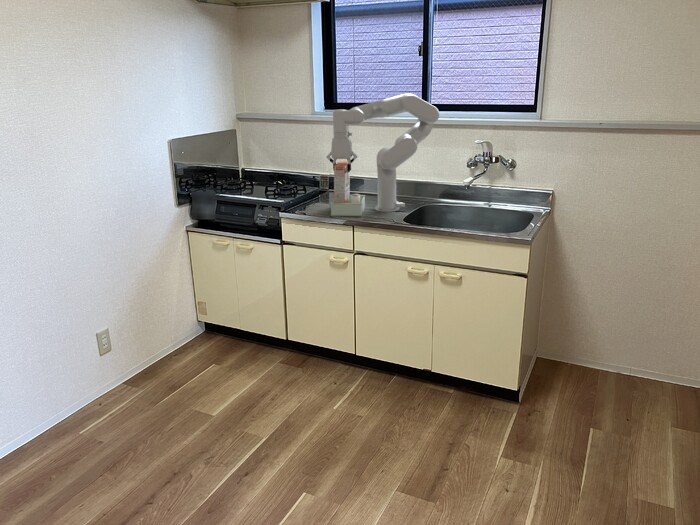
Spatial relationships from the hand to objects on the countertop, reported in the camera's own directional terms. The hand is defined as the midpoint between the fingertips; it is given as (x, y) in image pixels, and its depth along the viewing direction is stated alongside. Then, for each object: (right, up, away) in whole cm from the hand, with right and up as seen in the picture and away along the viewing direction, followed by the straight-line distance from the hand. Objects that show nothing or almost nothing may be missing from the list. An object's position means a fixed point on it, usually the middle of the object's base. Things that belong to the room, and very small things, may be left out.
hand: (342, 171), depth 285 cm
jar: (+7, -19, +6) cm, 21 cm away
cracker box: (0, -16, +6) cm, 17 cm away
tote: (+3, -20, +7) cm, 21 cm away
